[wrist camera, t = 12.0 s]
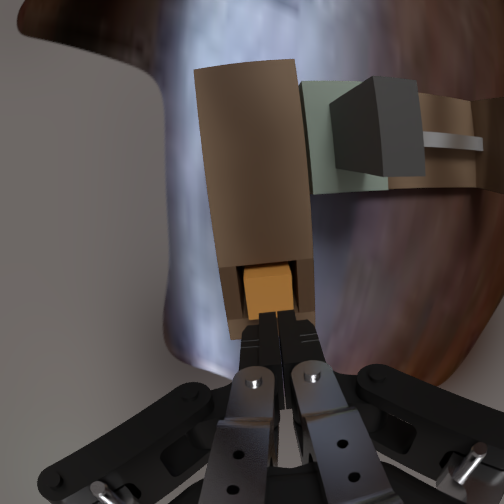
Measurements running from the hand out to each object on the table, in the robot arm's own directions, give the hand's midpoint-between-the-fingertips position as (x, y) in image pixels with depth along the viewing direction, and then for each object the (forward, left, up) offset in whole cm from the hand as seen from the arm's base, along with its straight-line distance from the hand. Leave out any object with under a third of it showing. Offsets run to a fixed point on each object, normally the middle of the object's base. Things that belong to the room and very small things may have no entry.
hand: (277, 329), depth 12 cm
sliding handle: (-6, -8, -11) cm, 14 cm away
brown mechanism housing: (-10, -5, -12) cm, 16 cm away
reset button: (0, 0, -7) cm, 7 cm away
